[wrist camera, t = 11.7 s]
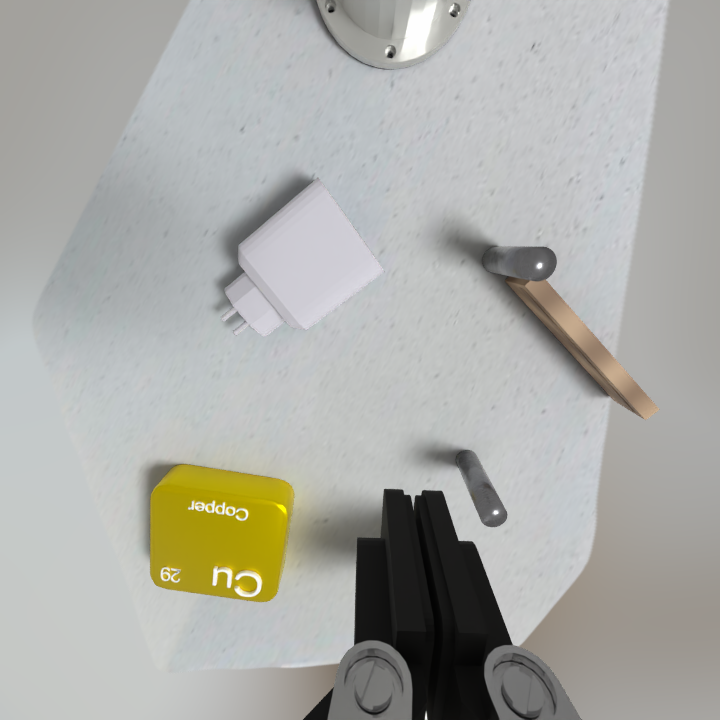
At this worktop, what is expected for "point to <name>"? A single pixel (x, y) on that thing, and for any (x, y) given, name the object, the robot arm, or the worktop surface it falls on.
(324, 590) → the worktop surface
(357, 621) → the robot arm
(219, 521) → the element tile
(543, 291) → the gate
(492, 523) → the latch post
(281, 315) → the charger
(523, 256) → the hinge post
